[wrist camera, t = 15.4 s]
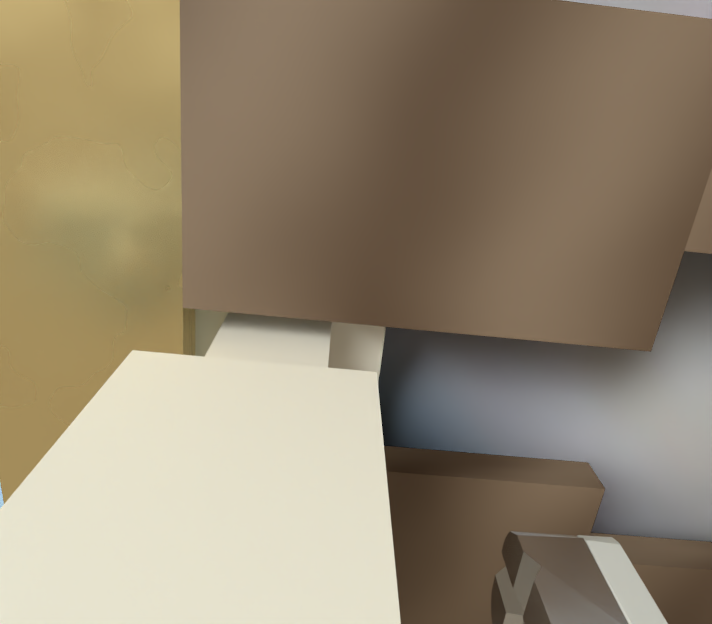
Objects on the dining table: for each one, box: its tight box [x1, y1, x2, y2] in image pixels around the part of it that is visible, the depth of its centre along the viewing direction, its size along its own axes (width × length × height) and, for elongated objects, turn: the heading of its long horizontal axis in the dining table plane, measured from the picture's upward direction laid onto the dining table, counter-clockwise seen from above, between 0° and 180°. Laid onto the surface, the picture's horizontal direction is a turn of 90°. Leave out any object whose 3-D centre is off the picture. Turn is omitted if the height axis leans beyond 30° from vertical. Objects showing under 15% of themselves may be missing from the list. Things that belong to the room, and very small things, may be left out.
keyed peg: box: [0, 309, 401, 624], centre depth 10 cm, size 5×5×11 cm
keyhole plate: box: [0, 0, 712, 624], centre depth 14 cm, size 24×16×3 cm, turn 84°
